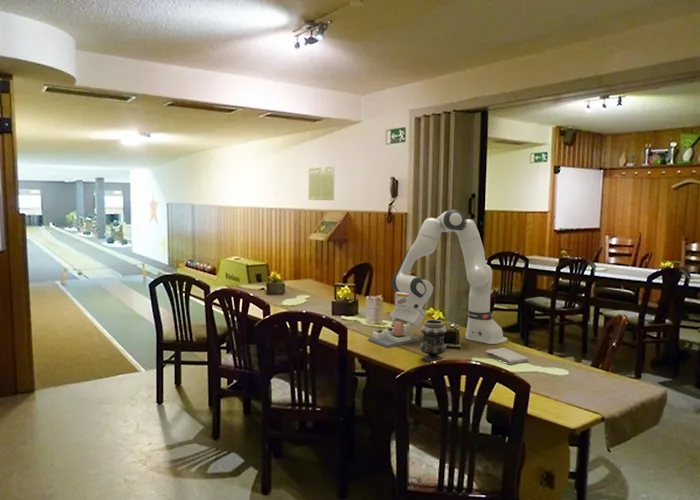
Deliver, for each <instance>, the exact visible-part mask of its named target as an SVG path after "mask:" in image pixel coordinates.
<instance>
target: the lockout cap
mask: <svg viewBox="0 0 700 500" xmlns="http://www.w3.org/2000/svg"><path fill="white" fill-rule="evenodd" d="M404 326H405V323H404V322H403V321H394V327H393V328H394V337H396V338H401V337H404V331H403V327H404Z"/></svg>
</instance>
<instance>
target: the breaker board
mask: <svg viewBox="0 0 700 500" xmlns="http://www.w3.org/2000/svg"><path fill="white" fill-rule="evenodd" d="M367 338H368V339H367V340H368V341H369V342H371V343H374V344H377V345H378V346H382V347H384V348H387V349H388V348H389V349H390V348H394V347H397V346H402V345H403V346H404V345H407V344H411V343H416V342H417V343H418V342H420V341H421V337H419V336H416V335H413V334H410V333H407V332H406V331H404V337H401V338H396V337H394V327H386V328H385V329H383V330H382V329H376V330H374V331H372V336H369V337H367Z"/></svg>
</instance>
